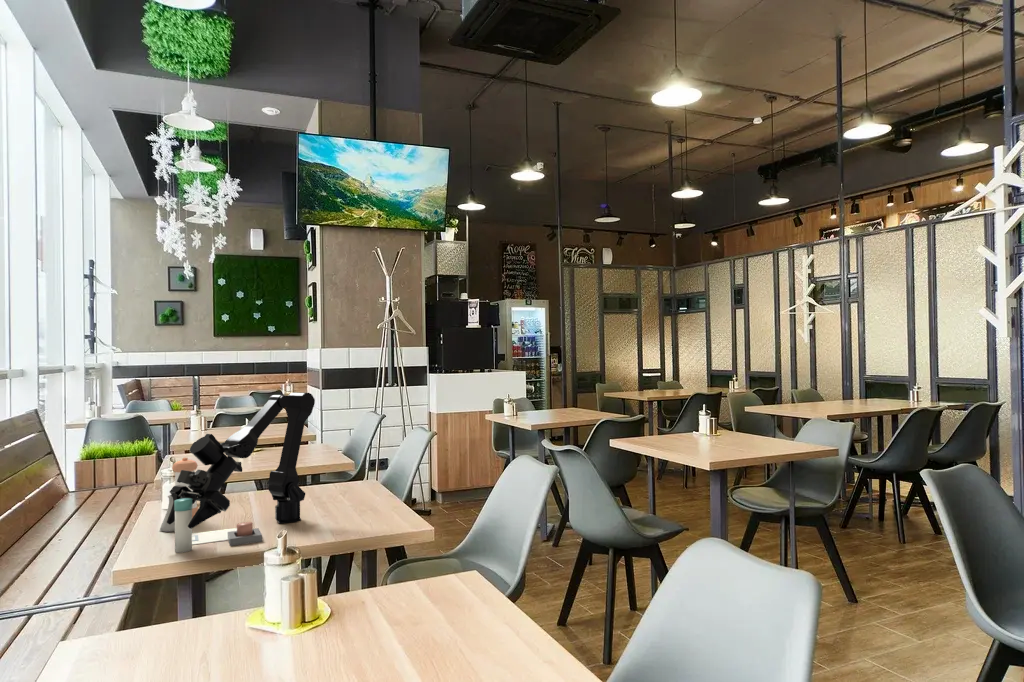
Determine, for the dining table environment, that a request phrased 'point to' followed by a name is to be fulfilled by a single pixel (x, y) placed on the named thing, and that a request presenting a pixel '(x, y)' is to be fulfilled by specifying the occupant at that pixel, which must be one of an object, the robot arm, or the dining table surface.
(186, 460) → the pepper shaker
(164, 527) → the flask
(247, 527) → the button
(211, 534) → the paper
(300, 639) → the dining table surface
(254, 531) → the button collar
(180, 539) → the marker
